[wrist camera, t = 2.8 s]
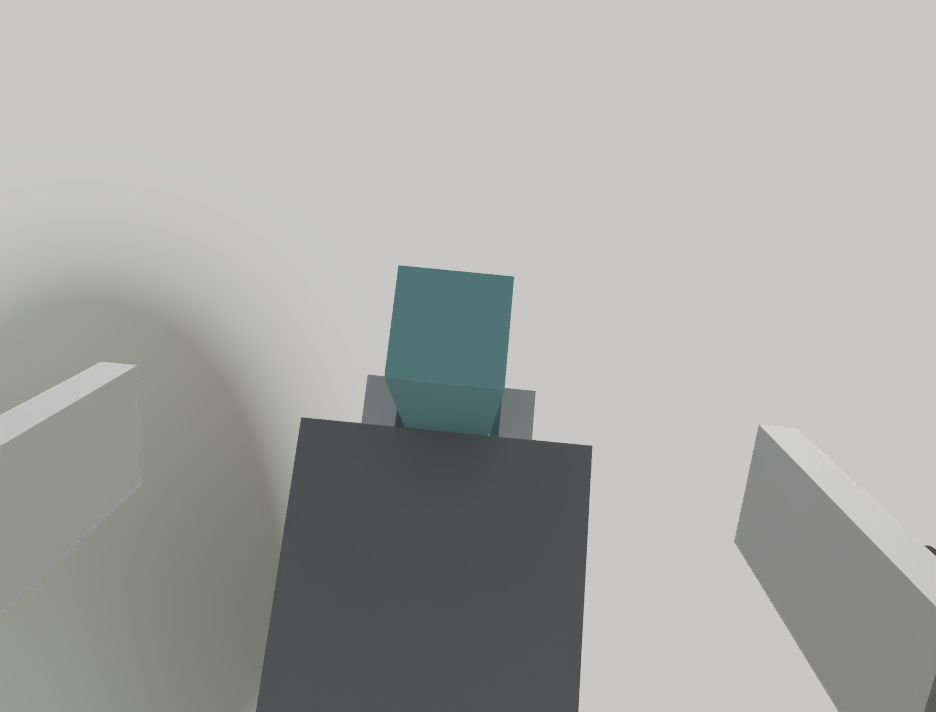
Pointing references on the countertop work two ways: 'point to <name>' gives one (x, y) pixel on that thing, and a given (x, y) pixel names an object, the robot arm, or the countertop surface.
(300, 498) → the block
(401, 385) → the teal rectangular bar
